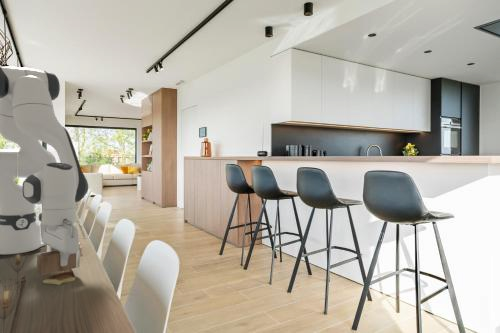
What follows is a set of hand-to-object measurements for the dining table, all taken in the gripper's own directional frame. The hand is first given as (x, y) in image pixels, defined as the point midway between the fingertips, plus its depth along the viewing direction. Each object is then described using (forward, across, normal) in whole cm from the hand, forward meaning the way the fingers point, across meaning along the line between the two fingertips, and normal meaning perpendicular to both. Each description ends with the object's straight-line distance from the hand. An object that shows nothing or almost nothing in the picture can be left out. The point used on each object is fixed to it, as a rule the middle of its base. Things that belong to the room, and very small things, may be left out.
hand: (59, 263), depth 97 cm
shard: (+5, 0, 0) cm, 5 cm away
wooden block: (-1, 0, +5) cm, 5 cm away
